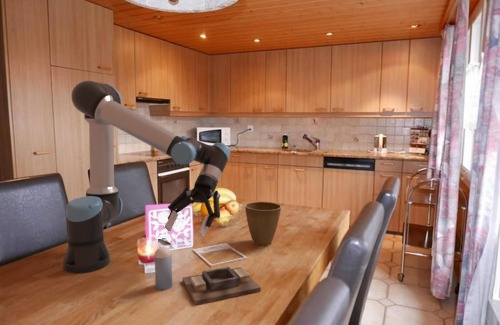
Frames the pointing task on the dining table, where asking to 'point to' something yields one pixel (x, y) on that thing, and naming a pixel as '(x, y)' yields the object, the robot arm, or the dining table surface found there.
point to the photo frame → (214, 249)
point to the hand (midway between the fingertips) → (183, 232)
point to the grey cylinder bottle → (163, 268)
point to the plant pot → (262, 221)
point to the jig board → (219, 284)
